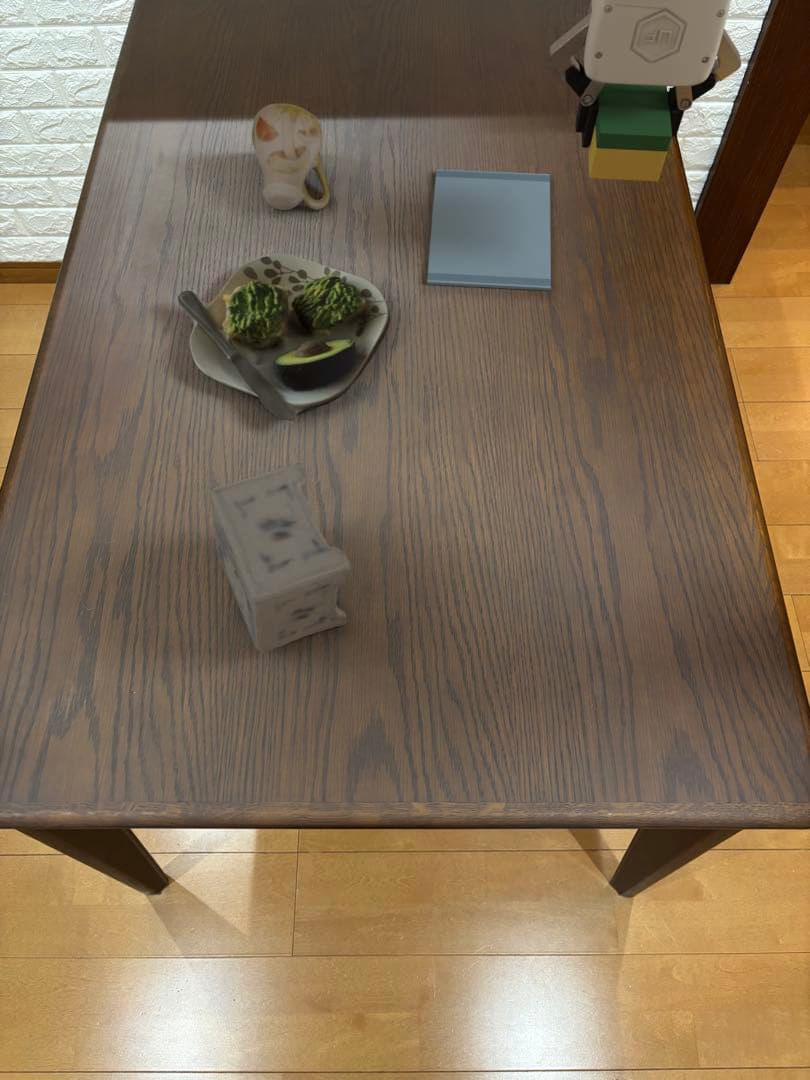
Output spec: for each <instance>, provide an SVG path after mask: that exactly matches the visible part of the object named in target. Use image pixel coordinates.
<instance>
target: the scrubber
mask: <svg viewBox="0 0 810 1080" xmlns="http://www.w3.org/2000/svg"><path fill="white" fill-rule="evenodd" d="M667 91H668V86H645V85H624V84H608V83H607V84H606V85H605V87H604V88H603V89H602V91H601V92H600V94H599V95H598V101H599V108H598V114H597V118H596V123H595V127H594V132H593V136H592V140H591V145H590V146H588V148H587V150H588V151H587V154H588V156H587V157H588V158H587V159H588V178H589V179H600V180H619V181H641V182H659V178H660V175H661V173H662V170H663V167H664V164H665V161H666V157H667V154H668V151H669V147H670V144H671V142H672V138H673V137H672V130H671V120H670V111H669V102H668V93H667Z"/></svg>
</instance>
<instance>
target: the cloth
mask: <svg viewBox="0 0 810 1080" xmlns="http://www.w3.org/2000/svg"><path fill="white" fill-rule="evenodd" d="M434 180H435V181H434V190H433V191H434V193H433V202H432V203H433V204H432V215H431V229H430V241H429V252H428V264H427V274H426V275H427V277H426V285H428V286H429V285H431V286H447V287H448V286H451V287H467V288H468V287H469V288H486V289H489V288H490V289H507V290H508V289H510V290H529V291H546V292H547V291H549V292H551V289H552V272H551V271H552V270H551V269H552V267H551V266H552V265H551V264H552V263H551V261H552V257H551V256H552V255H551V253H552V252H551V251H552V250H551V249H552V248H551V174H550V173H529V172H512V171H511V172H509V171H489V170H486V171H485V170H466V169H465V170H464V169H441V168H436V170H435V179H434Z"/></svg>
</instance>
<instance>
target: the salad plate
mask: <svg viewBox="0 0 810 1080" xmlns="http://www.w3.org/2000/svg"><path fill="white" fill-rule="evenodd" d="M177 302H178V304H179V307H181V309H183V311H185V313H186V314H187V315H188V317H189V318H190V319H191V321H192V324H193V325H192V326H193V327H192V330H191V334H190V337H189V347H190V352H191V355H192V358H193V361H194V364H195V365H196V367H197V368H198V369H199V370H200V371H201V372H202V373H203V374H204V375H205V376H208V377H210V378H211V379H213V380H215V381H216V382H218V383H220V384H222V385H225V386H226V387H229V388H232V389H235V390H238V391H241V392H242V393H245V394H247V395H251V396H254V397H256V398H257V399H259V402H260V403H261V404H262V405H263V406H264V407H265V408H266V409H267V410H268V411H269V412H270V413H271V414H273V415H274V416H276V417H277V418H278V419H279V420H282V421H291V422H292V421H293V422H296V419H297V416H298V414H299V413H301V412H303V411H306V410H311V409H314V408H318V407H322V406H325V405H327V404H330V403H332V402H334V401H336V400H338V399H339V398H341V397H342V396H343V395H344V394H345V393H346V392H347V391H348V390H349V389H350V388H351V387H352V386H353V385H354V383H355V382H356V381H357V380H358V378H360V377H361V375H362V374H363V372H364V370H365V369H366V367H367V366H368V364H369V363H370V361H371V360H372V359H373V357H374V355H375V354H376V351H377V350H378V348H379V347H380V345H381V344H382V342H383V340H384V339H385V336H386V333H387V331H388V329H389V327H390V324H391V313H390V308H389V307H388V303H387V301H386V299H385V297H384V296H383V294H382V292H381V291H380V289H379V288H378V287H377V286H376V285H375V284H374V283H373V282H371V281H368V280H367V279H365V278H363V277H360V276H357V275H354V274H352V273H349V272H345V271H342V270H340V269H335V268H331V267H330V266H327V265H323V264H320V263H318V262H315V261H314V260H309V259H306V258H303V257H301V256H296V255H294V254H289V253H271V254H266V255H262V256H259V257H256V258H253V259H250V260H248V261H247V262H246V261H245V263H243V264H241V265H240V266H239V267H238V268H237V269H236V270H235V271H234V272H233V274H231V276H230V277H229V279H228V280H227V282H226V283H225V284H224V285H223V287H222V288H221V290H220V291H219V293H218V294H217V295H216V296H215V297H214V299H212V300H210V301H208V302H205V301H203V300H202V299H200V298H199V296H198V295H197V294H196V293H195V292H194V291H191V290H184V291H182V292H181V293H180V294H178V296H177Z"/></svg>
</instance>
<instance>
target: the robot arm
mask: <svg viewBox="0 0 810 1080" xmlns="http://www.w3.org/2000/svg"><path fill="white" fill-rule="evenodd" d="M731 2H732V0H591V1H590V5H589V10H588V14H587V15H586V16H584V17H583V18H582V19H581V20H579V22H577V23H576V24H575V25H574V26H573V27H571V28H570V29H569V30H568V31H566V32H565V33H564V34H563V35H562V36H560V37H559V38H558V39H556V40H555V41H554V42H553V43H552V44H551V45H550V47H549V61H550V63H551V64H552V65H553V67H554V68H555V69H556V70H557V71H558V72H559V74H560V75H562V76H563V77H564V78H565V82H566V83H567V84H568V86H569V87H570V89H572V90H573V92H574V93H575V94H576V95H577V97H578V98H579V103H578V108H577V113H576V118H575V127H574V128H575V133H580V134H581V148H582V149H588V146H590V145H591V140H592V136H593V132H594V127H595V123H596V118H597V114H598V108H599V101H598V95H599V94H600V92H601V91H602V89H603V88H604V87H605V85H606V84H607V83H608V84H624V85H645V86H667V87H669V88H668V90H667V93H668V102H669V111H670V120H671V130H672V138H676V137H677V135H678V132H679V129H680V127H681V124H682V121H683V118H684V114H685V111H688V110H689V109H691V107H692V106H693V103H694V101H696V100H698V99H699V98H700V97H702V96H704V95H705V94H707V93H708V92H709V91H711V90H713V89H714V88H715V86H716V85H717V83H718V82H722V81H724V80H725V79H727V78H728V77H730V76H731V75H733V74H734V73H736V72H737V71H739V70H740V69H741V67H742V60H741V59H742V58H741V54H740V52H739V50H738V48H737V47H736V45H735V43H734V42H733V40H732V38H731V37H730V35H729V33H728V32H727V30H726V29H725V27H726V24H727V23H726V22H727V19H728V15H729V11H730V7H731ZM583 47H584V52H583V64H582V63H581V61H579V60H578V59H577V58H575V57H574V54H576V53H577V52H578V51H579V50H580V49H582V48H583Z"/></svg>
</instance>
